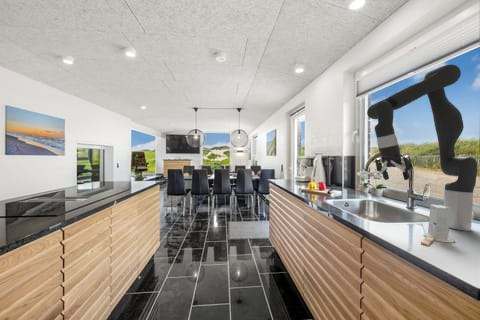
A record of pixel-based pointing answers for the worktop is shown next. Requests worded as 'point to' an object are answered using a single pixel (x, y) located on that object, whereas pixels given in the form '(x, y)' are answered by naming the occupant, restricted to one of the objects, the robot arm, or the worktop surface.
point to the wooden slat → (427, 241)
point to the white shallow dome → (450, 240)
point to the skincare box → (439, 221)
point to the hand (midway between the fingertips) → (396, 179)
